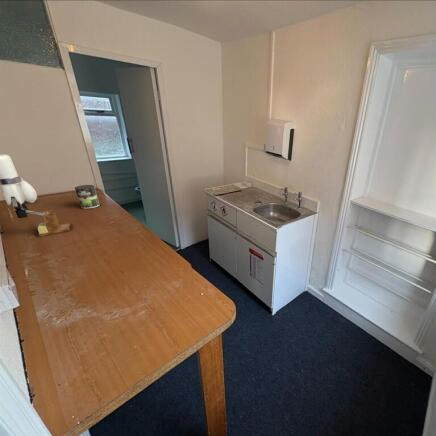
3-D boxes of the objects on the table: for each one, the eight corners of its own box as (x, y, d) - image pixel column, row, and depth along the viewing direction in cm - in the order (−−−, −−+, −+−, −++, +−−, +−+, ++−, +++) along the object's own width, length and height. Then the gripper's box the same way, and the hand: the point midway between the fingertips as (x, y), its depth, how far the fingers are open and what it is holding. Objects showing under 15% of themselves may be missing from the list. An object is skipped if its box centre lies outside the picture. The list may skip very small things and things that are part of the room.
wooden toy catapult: (39, 236, 122) (30, 217, 117) (41, 230, 128) (33, 212, 124) (69, 230, 129) (63, 212, 125) (70, 225, 135) (63, 207, 131)
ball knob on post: (15, 213, 116) (17, 207, 115) (16, 211, 118) (18, 206, 118) (51, 219, 125) (53, 214, 125) (52, 217, 127) (54, 212, 127)
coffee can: (97, 207, 161) (91, 188, 155) (78, 209, 157) (71, 189, 151) (101, 203, 169) (96, 184, 164) (84, 204, 165) (77, 185, 160)
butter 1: (40, 230, 125) (38, 225, 124) (41, 228, 127) (39, 223, 126) (48, 229, 127) (46, 224, 126) (49, 227, 129) (47, 222, 128)
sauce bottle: (24, 201, 165) (13, 177, 158) (39, 199, 170) (30, 175, 163) (23, 204, 160) (12, 179, 153) (39, 202, 165) (29, 177, 158)
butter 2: (39, 233, 122) (37, 228, 121) (40, 231, 124) (38, 226, 123) (47, 232, 123) (45, 227, 122) (48, 229, 126) (46, 225, 125)
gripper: (1, 178, 115) (16, 212, 122) (-9, 186, 103) (9, 223, 111) (23, 176, 120) (36, 209, 127) (16, 183, 108) (32, 219, 115)
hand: (24, 215), depth 119 cm, fingers open, 5 cm apart
